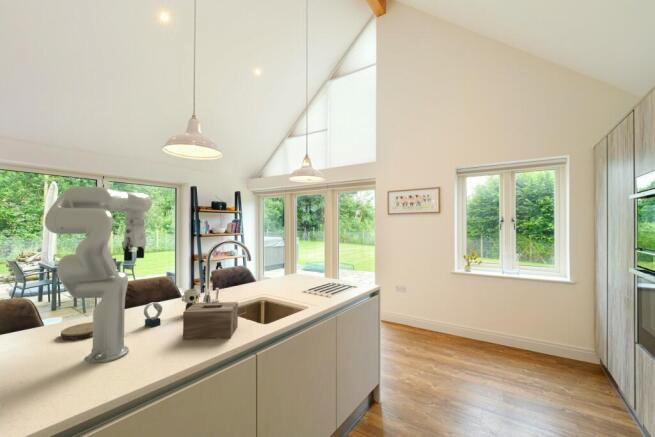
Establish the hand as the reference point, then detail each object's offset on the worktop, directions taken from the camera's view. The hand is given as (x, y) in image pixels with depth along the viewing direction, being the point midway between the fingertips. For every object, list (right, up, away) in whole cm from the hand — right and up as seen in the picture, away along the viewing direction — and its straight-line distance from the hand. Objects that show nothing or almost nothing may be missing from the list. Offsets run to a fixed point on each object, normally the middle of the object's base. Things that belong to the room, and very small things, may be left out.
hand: (134, 259), depth 134 cm
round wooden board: (-20, -34, -4) cm, 39 cm away
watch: (+4, -34, +8) cm, 35 cm away
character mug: (+14, -34, +26) cm, 45 cm away
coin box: (+37, -33, -2) cm, 50 cm away
